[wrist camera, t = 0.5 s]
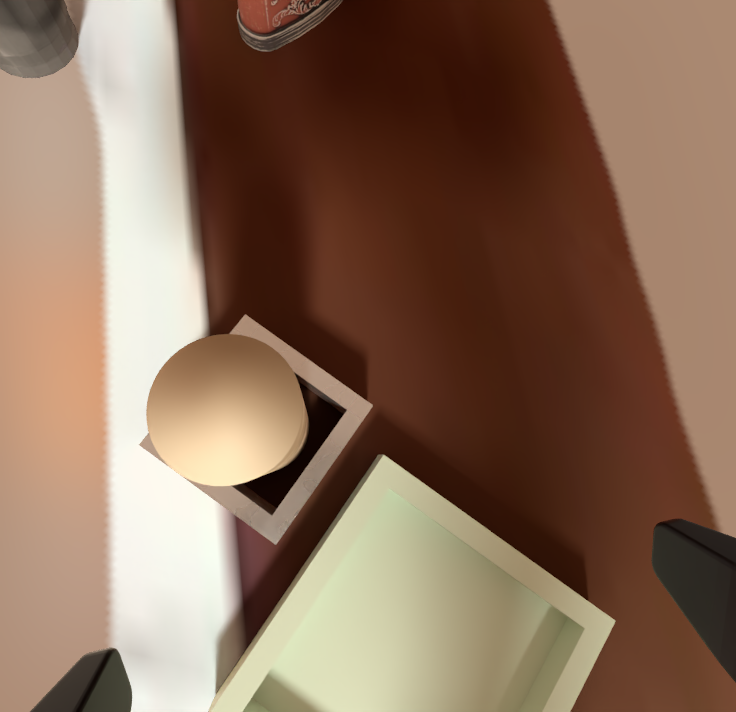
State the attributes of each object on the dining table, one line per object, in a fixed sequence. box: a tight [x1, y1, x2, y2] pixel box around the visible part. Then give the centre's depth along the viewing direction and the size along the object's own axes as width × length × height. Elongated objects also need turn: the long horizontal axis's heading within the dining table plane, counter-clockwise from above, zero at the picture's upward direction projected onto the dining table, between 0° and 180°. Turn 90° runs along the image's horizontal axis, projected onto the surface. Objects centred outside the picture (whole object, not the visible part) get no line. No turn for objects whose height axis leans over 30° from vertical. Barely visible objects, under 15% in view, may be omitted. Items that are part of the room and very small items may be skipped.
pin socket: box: [139, 314, 373, 545], centre depth 21 cm, size 7×7×2 cm
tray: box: [208, 455, 615, 712], centre depth 20 cm, size 12×12×2 cm
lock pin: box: [147, 334, 310, 486], centre depth 17 cm, size 4×4×10 cm
